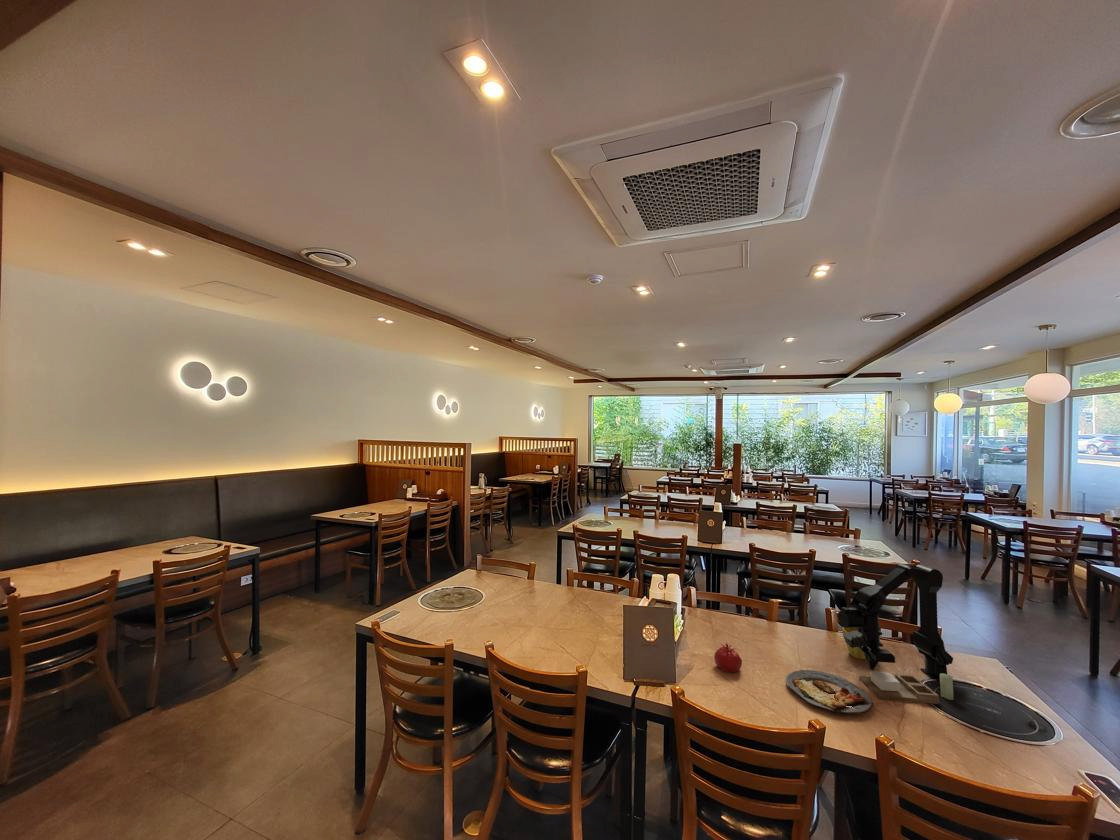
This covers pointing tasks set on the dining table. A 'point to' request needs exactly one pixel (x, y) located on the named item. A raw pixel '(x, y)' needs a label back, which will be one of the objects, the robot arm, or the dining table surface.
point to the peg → (946, 686)
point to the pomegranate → (728, 659)
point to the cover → (885, 681)
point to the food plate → (829, 691)
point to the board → (904, 690)
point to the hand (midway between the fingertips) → (871, 669)
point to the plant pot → (855, 651)
